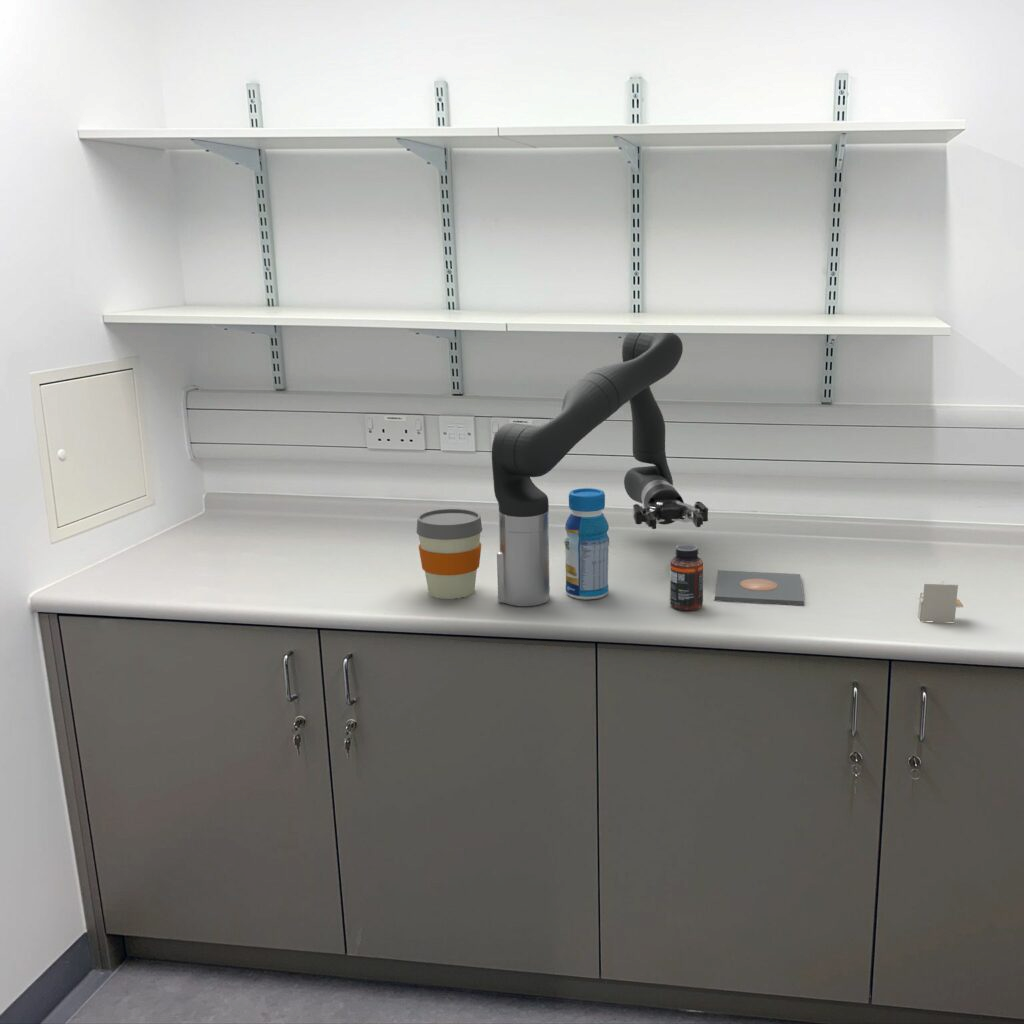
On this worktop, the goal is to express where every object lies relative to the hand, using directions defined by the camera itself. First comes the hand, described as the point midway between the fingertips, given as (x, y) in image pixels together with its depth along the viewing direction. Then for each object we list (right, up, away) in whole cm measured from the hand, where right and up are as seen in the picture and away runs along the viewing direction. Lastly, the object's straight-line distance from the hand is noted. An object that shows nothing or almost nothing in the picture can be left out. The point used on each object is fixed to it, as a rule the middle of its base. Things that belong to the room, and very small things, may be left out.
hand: (676, 523), depth 200 cm
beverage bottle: (-17, -14, 0) cm, 22 cm away
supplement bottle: (+1, -15, -8) cm, 17 cm away
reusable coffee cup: (-43, -13, +3) cm, 45 cm away
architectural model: (+43, -17, -17) cm, 49 cm away
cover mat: (+16, -13, +1) cm, 20 cm away
